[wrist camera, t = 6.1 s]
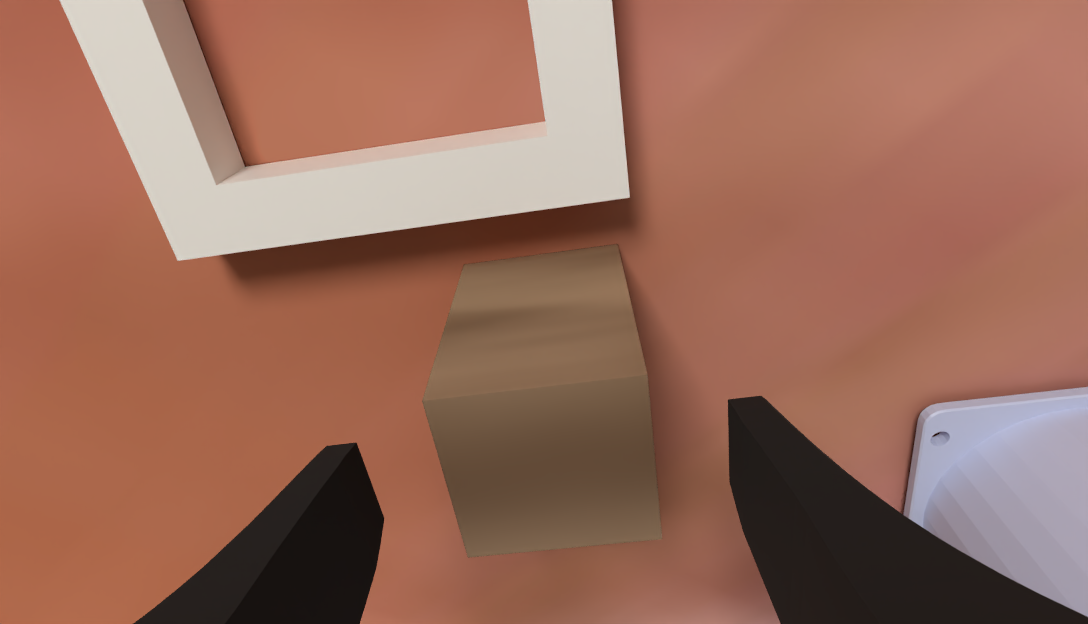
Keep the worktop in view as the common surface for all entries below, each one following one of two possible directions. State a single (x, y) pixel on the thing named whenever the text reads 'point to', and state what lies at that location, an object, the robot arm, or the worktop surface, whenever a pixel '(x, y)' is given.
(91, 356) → the worktop surface
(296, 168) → the white square frame
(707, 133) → the worktop surface
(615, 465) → the brown block
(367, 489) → the robot arm
